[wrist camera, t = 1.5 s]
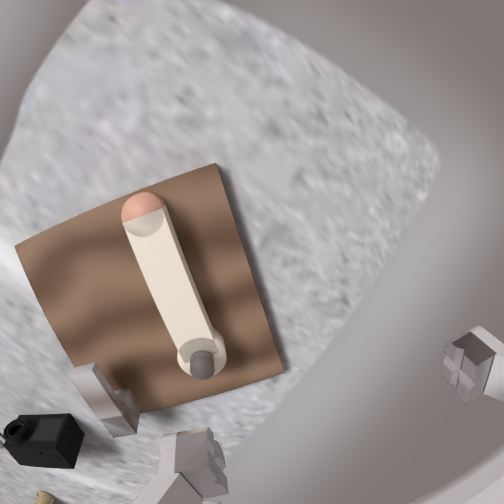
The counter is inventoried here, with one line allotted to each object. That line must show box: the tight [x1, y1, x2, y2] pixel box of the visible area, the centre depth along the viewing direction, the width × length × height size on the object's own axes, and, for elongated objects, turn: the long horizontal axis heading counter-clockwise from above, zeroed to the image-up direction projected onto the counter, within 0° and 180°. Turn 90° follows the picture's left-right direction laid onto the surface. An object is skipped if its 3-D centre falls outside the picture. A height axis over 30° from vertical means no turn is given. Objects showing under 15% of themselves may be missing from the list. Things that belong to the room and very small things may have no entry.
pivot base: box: [14, 163, 284, 438], centre depth 28 cm, size 23×22×6 cm
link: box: [121, 191, 226, 376], centre depth 28 cm, size 18×5×2 cm, turn 17°
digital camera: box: [3, 414, 84, 469], centre depth 30 cm, size 10×5×7 cm, turn 102°
